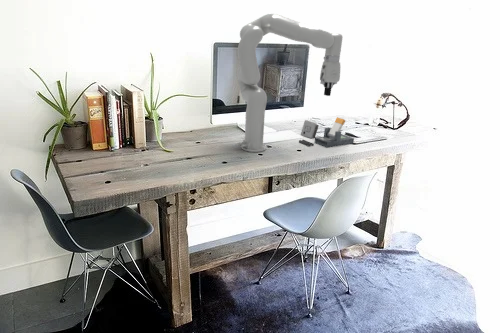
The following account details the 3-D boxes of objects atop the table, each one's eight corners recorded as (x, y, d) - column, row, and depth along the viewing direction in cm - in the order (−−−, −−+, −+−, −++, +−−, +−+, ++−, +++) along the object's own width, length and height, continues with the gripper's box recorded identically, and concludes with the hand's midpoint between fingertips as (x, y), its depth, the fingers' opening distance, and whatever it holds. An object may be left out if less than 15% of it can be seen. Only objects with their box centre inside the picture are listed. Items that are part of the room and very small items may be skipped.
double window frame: (326, 147, 206) (328, 133, 203) (314, 142, 214) (315, 129, 211) (353, 143, 216) (355, 129, 213) (340, 139, 224) (342, 125, 221)
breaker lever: (334, 138, 210) (344, 119, 209) (326, 135, 214) (336, 117, 214) (336, 139, 211) (346, 121, 210) (328, 136, 216) (338, 118, 215)
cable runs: (309, 146, 206) (309, 144, 206) (298, 142, 214) (298, 139, 213) (314, 146, 208) (314, 143, 208) (303, 141, 216) (303, 139, 215)
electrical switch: (300, 135, 228) (302, 119, 226) (306, 135, 231) (309, 119, 229) (311, 139, 221) (313, 123, 219) (317, 138, 224) (320, 123, 222)
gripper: (326, 59, 188) (321, 97, 194) (347, 60, 196) (342, 96, 202) (315, 58, 194) (311, 94, 200) (337, 58, 202) (332, 93, 208)
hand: (327, 95), depth 201 cm, fingers closed
